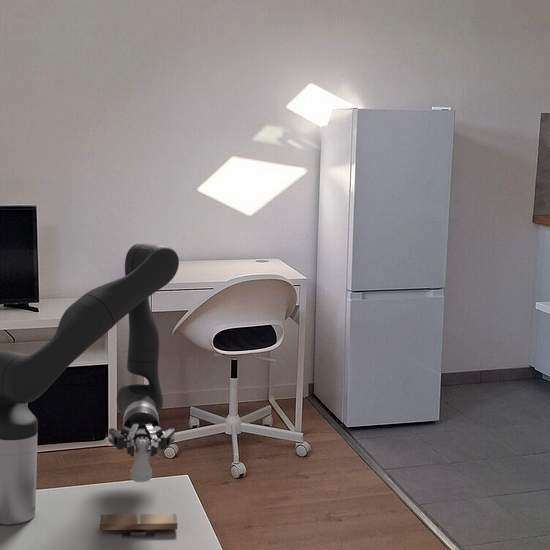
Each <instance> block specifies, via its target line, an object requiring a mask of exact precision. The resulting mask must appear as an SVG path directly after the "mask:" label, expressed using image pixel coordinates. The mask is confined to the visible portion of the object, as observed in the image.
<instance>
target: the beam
mask: <svg viewBox="0 0 550 550" xmlns="http://www.w3.org/2000/svg"><path fill="white" fill-rule="evenodd" d="M98 527H99V528H98V529H99V531H123V530H152V529H154V530H178V518H177V513H136V514H135V513H133V514H132V513H131V514H130V513H129V514H128V513H127V514H125V513H124V514H123V513H122V514H121V513H119V514H115V513H114V514H111V513H109V514H100V515H99V526H98Z"/></svg>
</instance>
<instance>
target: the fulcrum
mask: <svg viewBox="0 0 550 550" xmlns="http://www.w3.org/2000/svg"><path fill="white" fill-rule="evenodd" d="M124 536H125V537H124ZM131 536H133V537H131ZM134 536H135V537H134ZM122 538H155V529H152V530H122Z"/></svg>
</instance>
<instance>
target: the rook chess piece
mask: <svg viewBox="0 0 550 550" xmlns="http://www.w3.org/2000/svg"><path fill="white" fill-rule="evenodd" d="M134 445H135V449H134V454H135V456H134V463H133V464H132V467H131V468H130V470H129V471H130V474H129V478H130V479H131V480H132V481H133V482H136V483H137V482H139V483H144V482H149V481H150V480H151V479H152V478H153V474H152V473H153V469H152V467H151V465H150V462H149V453H150V450H149V448H148V447H149V446H150V445H151V443H150V442H149V439H148V438H147V437H145V439H143V437H141V439H139V437H138V438H137V439H136V442H135V443H134Z"/></svg>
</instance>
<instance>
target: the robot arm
mask: <svg viewBox="0 0 550 550" xmlns="http://www.w3.org/2000/svg"><path fill="white" fill-rule="evenodd" d="M177 253H178V252H176V251H175V250H174V249H173V248H171V247H169V246H167V245H163V244H154V243H145V242H144V243H136V244H133V245H132V246H131V247H130V248H129V249H128V251H127V253H126V256H125V259H124V276H122V277H120V278H118V279H115V280H113V281H109V282H106V283H105V284H103V285H100V286H97V287H95V288H92V289H91V290H89V291H88V292H86V293H84V294H83V295H81V297H80V298H77V300H75V301H74V302H73V303H72V304H70V305H69V306H68V307H67V309H66V310H65V311H64V312H63V314H62V315H61V318H60V320H59V323H58V325H57V329H56V331H55V334H54V335H53V337H52V338H51V339H50V340H49V341H48V342H47V343H46V344H45V345H43V346H42V347H40V348H39V349H38V350H37V351H35V352H34V353H32V354H30V355H27V354H23V353H20V352H15V351H12V350H3V351H0V525H8V526H9V525H17V524H23V523H26V522H28V521H30V520H32V519H33V518H34V517H35V516H36V504H37V503H36V501H37V499H36V497H37V470H38V469H37V465H38V462H37V460H38V434H39V433H38V430H39V423H38V422H39V421H38V418H37V417H36V415H34V414H33V412H32V411H31V410H30V409H29V407H28V405H27V404H28V403H31V402H34V401H36V400H37V399H38V398H40V397H41V396H42V395H43V394H44V393H45V392H46V391H47V390H49V388H50V387H51V386H52V385H53V383H55V381H56V380H58V378H59V377H60V376H61V375H62V374H63V372H64V371H66V369H68V367H69V366H71V365H72V364H73V363H74V362H75V360H77V359H78V358H79V357H80V356H82V354H83V353H85V351H86V350H87V349H89V348H90V347H92V345H93V344H95V343H96V342H97V341H98V340H100V339H101V338H102V337H103V336H104V335H105V334H107V332H109V331H110V330H111V329H112V328H113V327H114V326H115V325H116V324H117V323H118V322H120V321H121V320H122V319H123V318H124V317H126V316H127V315H128V328H129V330H128V349H127V362H126V363H127V364H126V369H127V371H128V372H129V373H130V374H133V375H136V376H140V377H143V378H144V379H146V380H147V382H148V384H137V383H128V384H127V383H126V384H123V385H122V386H121V387H120V388H119V389H118V392H117V395H116V407H117V409H118V411H119V413H120V415H121V416H122V417H123V418H122V419H123V420H122V427H121V429H120V430H119V429H115V428H113V427H111V428H109V429H108V442H109V443H110V444H111V445H112V446H113V447H115V448H116V449H117V450H121V451H122V450H124V449H126V454H127V455H129V456H130V457H135V449H136V447H135V445H134V443H135V442H136V439H137V438H138V437H139V439H141V437H143V439H145V437H147V438H148V439H149V442H150V443H151V445H150V446H149V447H148V449H150V450H149V453H150V457H155V455H158V454H159V448H160V450H163V451H164V450H167V449H168V448H169V447H170V446H171V445H172V444H173V443H174V442H175V433H176V432H175V428H169V429H166V430H165V431H164V430H163V428H162V427H160V426H161V425H160V418H159V413H160V412H161V410H162V409H163V407H164V397H163V391H162V388H161V383H160V377H159V356H160V355H159V354H160V336H159V330H158V327H157V323H156V321H155V319H154V315H153V313H152V308H151V305H150V298H149V297H150V296H152V295H154V294H155V293H156V292H158V291H159V290H162V288H164V287H165V286H166V285H168V284H169V283H171V281H172V280H173V279H174V278H175V276H176V275H177V272H178V270H179V265H180V261H179V260H180V258H179V255H178V254H177Z"/></svg>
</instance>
